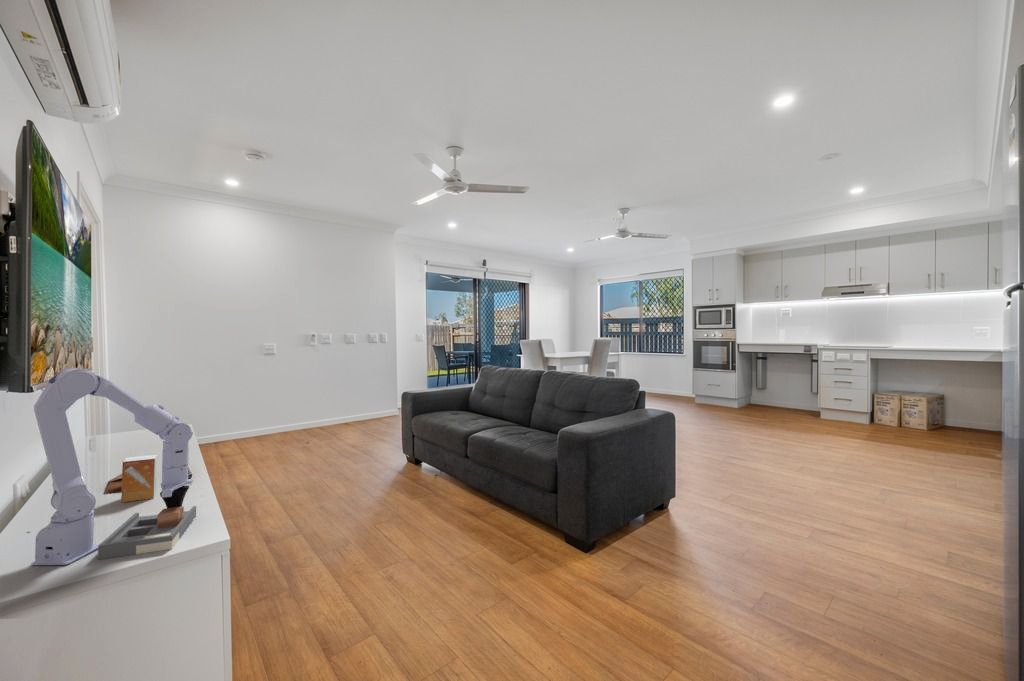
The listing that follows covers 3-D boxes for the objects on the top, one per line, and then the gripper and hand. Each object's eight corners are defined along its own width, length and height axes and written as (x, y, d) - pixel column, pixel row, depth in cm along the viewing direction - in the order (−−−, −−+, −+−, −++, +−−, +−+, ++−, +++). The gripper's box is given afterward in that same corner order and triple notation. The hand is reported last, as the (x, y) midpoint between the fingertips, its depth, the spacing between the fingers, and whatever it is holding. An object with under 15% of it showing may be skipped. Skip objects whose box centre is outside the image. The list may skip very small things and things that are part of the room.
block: (178, 525, 115) (178, 512, 115) (157, 528, 113) (157, 514, 113) (183, 519, 119) (183, 506, 119) (163, 521, 117) (163, 508, 117)
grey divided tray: (172, 549, 106) (172, 535, 106) (97, 559, 100) (98, 545, 100) (196, 517, 125) (196, 506, 125) (135, 524, 120) (135, 512, 120)
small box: (120, 503, 135) (121, 461, 135) (124, 497, 140) (125, 457, 141) (154, 498, 140) (155, 458, 140) (157, 492, 145) (157, 453, 145)
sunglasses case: (106, 481, 156) (119, 463, 158) (128, 487, 160) (141, 470, 162) (103, 494, 142) (117, 475, 145) (127, 501, 146) (141, 482, 148)
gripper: (185, 471, 114) (184, 522, 114) (199, 457, 127) (199, 504, 127) (151, 474, 111) (150, 527, 111) (170, 460, 125) (169, 507, 124)
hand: (174, 515), depth 119 cm, fingers closed
